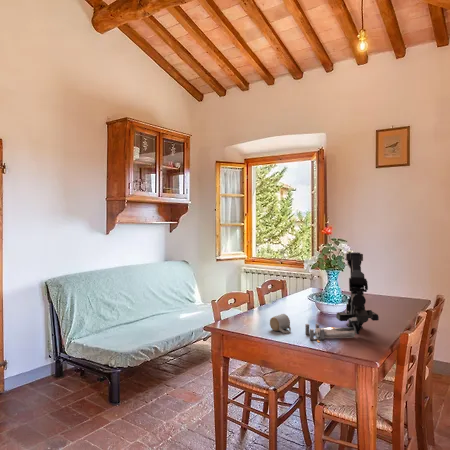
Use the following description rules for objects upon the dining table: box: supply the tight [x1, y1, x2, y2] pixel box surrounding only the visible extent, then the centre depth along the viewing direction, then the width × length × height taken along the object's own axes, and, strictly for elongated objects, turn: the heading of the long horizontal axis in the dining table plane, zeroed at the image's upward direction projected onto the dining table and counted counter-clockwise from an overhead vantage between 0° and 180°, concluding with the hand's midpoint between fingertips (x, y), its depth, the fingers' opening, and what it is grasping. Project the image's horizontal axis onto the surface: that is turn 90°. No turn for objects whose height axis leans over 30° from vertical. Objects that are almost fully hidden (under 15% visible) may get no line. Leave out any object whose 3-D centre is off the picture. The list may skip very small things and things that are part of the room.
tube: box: [314, 326, 356, 339], centre depth 178 cm, size 18×4×5 cm, turn 93°
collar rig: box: [304, 323, 325, 343], centre depth 178 cm, size 15×6×5 cm, turn 2°
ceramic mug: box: [269, 313, 292, 334], centre depth 188 cm, size 11×8×8 cm
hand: (357, 334), depth 179 cm, fingers closed
